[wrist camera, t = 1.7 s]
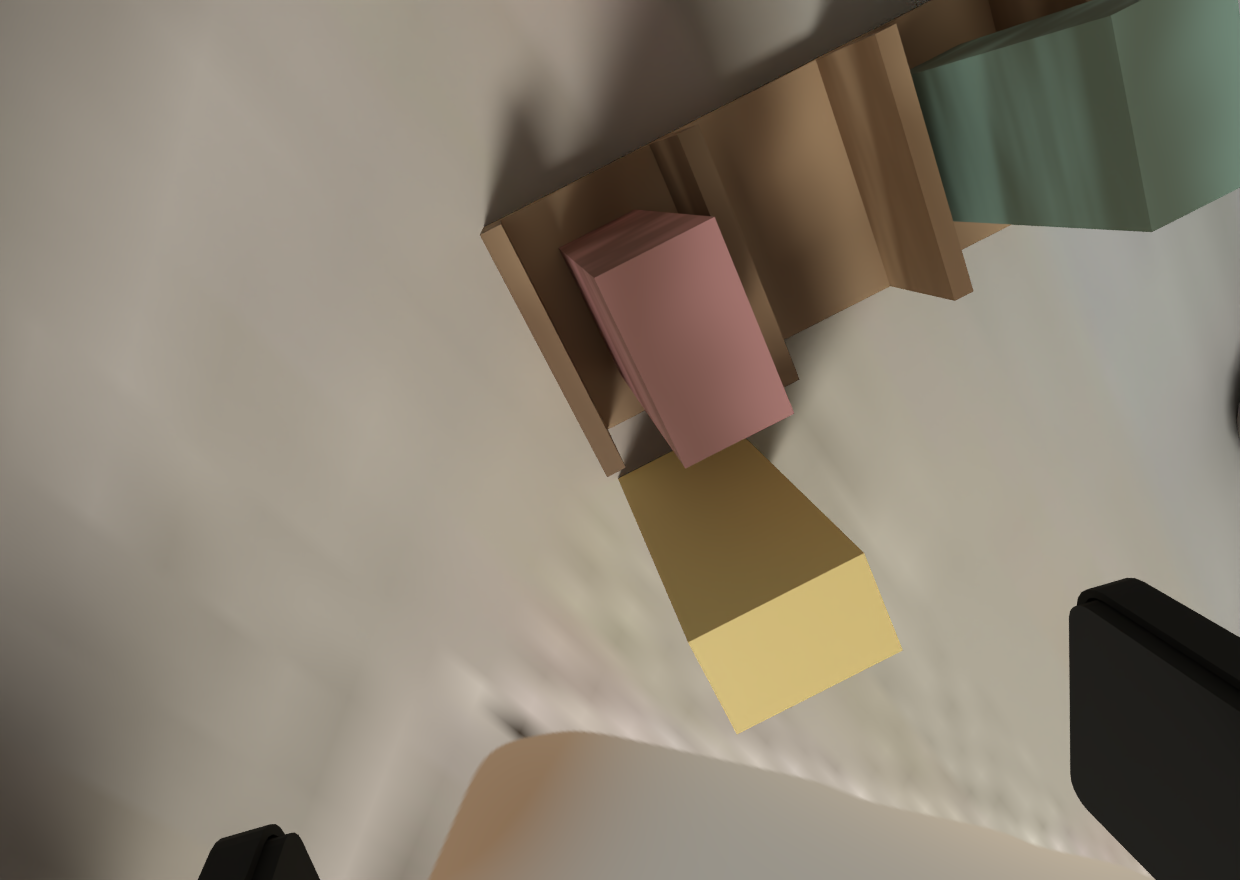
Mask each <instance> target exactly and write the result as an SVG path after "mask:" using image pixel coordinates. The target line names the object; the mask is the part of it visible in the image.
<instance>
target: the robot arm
mask: <svg viewBox="0 0 1240 880" xmlns="http://www.w3.org/2000/svg"><path fill="white" fill-rule="evenodd" d="M1069 667H1070V775H1071V782H1072V785H1073V788H1074V790H1075V792H1076V794H1077V796H1078V798H1079V799H1080V801H1081V802H1082V804H1083V805H1084V806H1085V808H1086V809H1087V810H1088V811H1089V812H1090V813H1091V814H1092V815H1093V816H1094V817H1095V818H1096V819H1097V820H1098V821H1099V822H1100V823H1101V824H1102V825H1103V826H1104V827H1105V828H1106V829H1107V831H1108V832H1109V833H1110V834H1111V835H1112V836H1113V837H1114V838H1115V839H1116V840H1117V841H1118V842H1119V843H1120V844H1121V845H1122V846H1123V847H1124V848H1125V849H1126V850H1127V851H1128V852H1129V853H1130V854H1131V855H1132V856H1133V857H1134V858H1135V859H1136V860H1137V861H1138V862H1139V863H1140V864H1141V865H1142V866H1143V867H1144V868H1145V869H1146V870H1147V871H1148V872H1149V873H1150V874H1151V875H1152V876H1153V877H1154V878H1155V879H1156V880H1240V637H1238V636H1236V635H1235V634H1233V633H1231V632H1229V631H1228V630H1226V629H1224V628H1223V627H1221V626H1219V625H1217V624H1216V623H1214V622H1212V621H1210V620H1209V619H1207V618H1205V617H1204V616H1202V615H1200V614H1198V613H1197V612H1195V611H1193V610H1191V609H1190V608H1188V607H1186V606H1185V605H1183V604H1181V603H1179V602H1178V601H1176V600H1174V599H1172V598H1171V597H1169V596H1167V595H1166V594H1164V593H1162V592H1160V591H1159V590H1157V589H1155V588H1153V587H1152V586H1150V585H1148V584H1147V583H1145V582H1143V581H1140V580H1138V579H1135V578H1125V579H1122V580H1118V581H1115V582H1111V583H1108V584H1104V585H1101V586H1097V587H1094V588H1090V589H1087V590H1085V591H1083V592H1081V594H1080V596H1079V597H1078V601H1077V606H1075V607H1073V608H1072V609H1071V611H1070V615H1069ZM198 880H320V879H319V876H318V874H317V872H316V870H315V868H314V866H313V863H312V861H311V859H310V857H309V855H308V853H307V850H306V848H305V846H304V844H303V842H302V840H301V838H300V837H299V835H297V834H296V833H289V834H286V835H285V834H284V832H283V831H282V829H281V828H280V827H279V826H277V825H276V824H270V825H266V826H263V827H259V828H256V829H252V830H249V831H246V832H242V833H239V834H235V835H232V836H228V837H225V838H221V839H220V840H219V841H217V842H216V843H215V845H214V846H213V848H212V850H211V851H210V853H209V856H208V858H207V860H206V862H205V865H204V867H203V869H202V871H201V874H200V876H199V878H198Z"/></svg>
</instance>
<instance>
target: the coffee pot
mask: <svg viewBox="0 0 1240 880" xmlns="http://www.w3.org/2000/svg"><path fill="white" fill-rule="evenodd" d="M1237 426H1238V433H1239V438H1240V403H1239V408H1238V417H1237Z"/></svg>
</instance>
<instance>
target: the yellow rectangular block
mask: <svg viewBox="0 0 1240 880" xmlns="http://www.w3.org/2000/svg"><path fill="white" fill-rule="evenodd" d="M618 479H619V482H620V484H621V486H622V489H623V491H624V493H625V496H626V498H627V500H628V503H629V505H630V507H631V510H632V512H633V515H634V517H635V519H636V522H637V524H638V526H639V529H640V531H641V533H642V536H643V538H644V540H645V543H646V545H647V547H648V550H649V552H650V554H651V557H652V559H653V561H654V564H655V566H656V568H657V571H658V573H659V575H660V578H661V580H662V582H663V585H664V587H665V589H666V592H667V594H668V596H669V599H670V601H671V603H672V606H673V608H674V610H675V613H676V615H677V617H678V620H679V622H680V624H681V627H682V629H683V631H684V634H685V636H686V638H687V641H688V643H689V645H690V647H691V649H692V650H693V652H694V654H695V656H696V658H697V660H698V662H699V664H700V666H701V667H702V669H703V671H704V673H705V675H706V677H707V679H708V681H709V683H710V684H711V686H712V688H713V690H714V692H715V694H716V696H717V698H718V700H719V701H720V703H721V705H722V707H723V709H724V711H725V713H726V715H727V717H728V718H729V720H730V722H731V724H732V726H733V728H734V730H735V732H736V734H739V733H741V732H743V731H745V730H747V729H748V728H750V727H752V726H754V725H756V724H758V723H760V722H762V721H764V720H766V719H768V718H770V717H772V716H774V715H776V714H778V713H780V712H782V711H784V710H786V709H788V708H790V707H792V706H794V705H796V704H798V703H800V702H802V701H804V700H806V699H808V698H810V697H812V696H814V695H816V694H818V693H819V692H821V691H823V690H825V689H827V688H829V687H831V686H833V685H835V684H837V683H839V682H841V681H843V680H845V679H847V678H849V677H851V676H853V675H855V674H857V673H859V672H861V671H863V670H865V669H867V668H869V667H871V666H873V665H875V664H877V663H879V662H881V661H883V660H885V659H887V658H889V657H891V656H892V655H894V654H896V653H898V652H900V651H902V647H901V645H900V642H899V640H898V637H897V635H896V632H895V630H894V627H893V625H892V622H891V620H890V617H889V615H888V612H887V610H886V607H885V605H884V602H883V600H882V597H881V595H880V592H879V590H878V587H877V585H876V582H875V579H874V577H873V574H872V572H871V569H870V567H869V564H868V562H867V559H866V557H865V554H864V553H863V552H862V551H861V550H860V549H859V548H858V547H857V546H856V545H855V544H854V543H853V542H852V541H851V540H850V539H849V538H848V537H847V536H846V535H845V534H844V533H843V532H842V531H841V530H840V529H839V528H838V527H837V526H836V525H835V524H834V523H832V522H831V521H830V520H829V519H828V518H827V517H826V516H825V515H824V514H823V513H822V512H821V511H820V510H819V509H818V508H817V507H816V506H815V505H814V504H813V503H812V502H811V501H810V500H809V499H808V498H807V497H806V496H805V495H804V494H803V493H802V492H801V491H800V490H798V489H797V488H796V487H795V486H794V485H793V484H792V483H791V482H790V481H789V480H788V479H787V478H786V477H785V476H784V475H783V474H782V473H781V472H780V471H779V470H778V469H777V468H776V467H775V466H774V465H773V464H772V463H771V462H770V461H769V460H768V459H767V458H766V457H765V456H763V455H762V454H761V453H760V452H759V451H758V450H757V449H756V448H755V447H754V446H753V445H752V444H751V443H750V442H749V441H748V440H747V439H746V438H745V439H743V440H741V441H739V442H737V443H735V444H733V445H731V446H729V447H727V448H725V449H723V450H721V451H719V452H717V453H715V454H713V455H711V456H709V457H707V458H706V459H704V460H702V461H700V462H698V463H696V464H694V465H692V466H690V467H688V468H686V469H685V467H684V466H683V464H682V463H681V461H680V460H679V459H678V457H677V456H676V454H675V453H674V451H671V452H669V453H667V454H665V455H663V456H662V457H660V458H658V459H656V460H654V461H652V462H650V463H648V464H646V465H644V466H642V467H640V468H638V469H636V470H634V471H632V472H630V473H628V474H626V475H624V476H622V477H620V478H618Z"/></svg>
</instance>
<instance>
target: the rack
mask: <svg viewBox="0 0 1240 880" xmlns="http://www.w3.org/2000/svg"><path fill="white" fill-rule="evenodd" d="M1238 188H1240V13H1239V6H1238V0H930V1H928V2H926V3H924V4H922V5H920V6H919V7H917V8H915V9H913V10H911V11H909V12H907V13H905V14H903V15H901V16H899V17H897V18H895V19H893V20H891V21H889V22H887V23H885V24H883V25H881V26H879V27H877V28H875V29H873V30H871V31H869V32H867V33H865V34H863V35H861V36H859V37H857V38H856V39H854V40H852V41H850V42H848V43H846V44H844V45H842V46H840V47H838V48H836V49H834V50H832V51H830V52H828V53H826V54H824V55H822V56H820V57H818V58H816V59H814V60H812V61H810V62H808V63H806V64H804V65H802V66H800V67H798V68H796V69H795V70H793V71H791V72H789V73H787V74H785V75H783V76H781V77H779V78H777V79H775V80H773V81H771V82H769V83H767V84H765V85H763V86H761V87H759V88H757V89H755V90H753V91H751V92H749V93H747V94H745V95H743V96H741V97H739V98H737V99H735V100H733V101H732V102H730V103H728V104H726V105H724V106H722V107H720V108H718V109H716V110H714V111H712V112H710V113H708V114H706V115H704V116H702V117H700V118H698V119H696V120H694V121H692V122H690V123H688V124H686V125H684V126H682V127H680V128H678V129H676V130H674V131H672V132H671V133H669V134H667V135H665V136H663V137H661V138H659V139H657V140H655V141H653V142H651V143H649V144H647V145H645V146H643V147H641V148H639V149H637V150H635V151H633V152H631V153H629V154H627V155H625V156H623V157H621V158H619V159H617V160H615V161H613V162H611V163H609V164H608V165H606V166H604V167H602V168H600V169H598V170H596V171H594V172H592V173H590V174H588V175H586V176H584V177H582V178H580V179H578V180H576V181H574V182H572V183H570V184H568V185H566V186H564V187H562V188H560V189H558V190H556V191H554V192H552V193H550V194H548V195H546V196H545V197H543V198H541V199H539V200H537V201H535V202H533V203H531V204H529V205H527V206H525V207H523V208H521V209H519V210H517V211H515V212H513V213H511V214H509V215H507V216H505V217H503V218H501V219H499V220H497V221H495V222H493V223H491V224H489V225H487V226H485V227H484V228H483V230H482V232H481V234H480V236H481V238H482V240H483V242H484V244H485V246H486V247H487V249H488V251H489V253H490V255H491V257H492V259H493V261H494V263H495V265H496V266H497V268H498V270H499V272H500V274H501V276H502V278H503V280H504V282H505V284H506V286H507V287H508V289H509V291H510V293H511V295H512V297H513V299H514V301H515V303H516V305H517V306H518V308H519V310H520V312H521V314H522V316H523V318H524V320H525V322H526V324H527V325H528V327H529V329H530V331H531V333H532V335H533V337H534V339H535V341H536V343H537V344H538V346H539V348H540V350H541V352H542V354H543V356H544V358H545V360H546V362H547V363H548V365H549V367H550V369H551V371H552V373H553V375H554V377H555V379H556V381H557V382H558V384H559V386H560V388H561V390H562V392H563V394H564V396H565V398H566V400H567V401H568V403H569V405H570V407H571V409H572V411H573V413H574V415H575V417H576V419H577V420H578V422H579V424H580V426H581V428H582V430H583V432H584V434H585V436H586V438H587V439H588V441H589V443H590V445H591V447H592V449H593V451H594V453H595V455H596V457H597V458H598V460H599V462H600V464H601V466H602V468H603V470H604V472H605V474H606V476H607V477H608V476H610V475H612V474H614V473H616V472H618V471H620V470H622V469H624V468H626V467H625V465H624V463H623V461H622V459H621V456H620V454H619V452H618V450H617V448H616V446H615V444H614V442H613V440H612V437H611V435H610V433H609V431H608V429H609V428H611V427H613V426H615V425H617V424H619V423H621V422H623V421H625V420H627V419H629V418H631V417H633V416H635V415H637V414H639V413H641V412H643V411H646V412H647V414H648V415H649V416H650V418H651V419H652V421H653V422H654V424H655V425H656V427H657V428H658V430H659V431H660V432H661V434H662V435H663V437H664V438H665V440H666V441H667V443H668V444H669V445H670V447H671V448H672V450H673V451H674V453H675V454H676V456H677V457H678V459H679V460H680V461H681V463H682V464H683V466H684V467H685V469H686V468H688V467H690V466H692V465H694V464H696V463H698V462H700V461H702V460H704V459H706V458H707V457H709V456H711V455H713V454H715V453H717V452H719V451H721V450H723V449H725V448H727V447H729V446H731V445H733V444H735V443H737V442H739V441H741V440H743V439H745V438H747V437H749V436H751V435H753V434H755V433H757V432H759V431H761V430H763V429H765V428H767V427H769V426H771V425H773V424H775V423H776V422H778V421H780V420H782V419H784V418H786V417H788V416H790V415H792V414H794V412H793V409H792V407H791V404H790V402H789V399H788V397H787V394H786V392H785V389H784V387H786V386H788V385H790V384H792V383H794V382H796V381H797V380H799V377H798V374H797V372H796V369H795V367H794V364H793V362H792V359H791V357H790V354H789V352H788V349H787V347H786V344H785V342H784V340H785V339H787V338H789V337H791V336H793V335H795V334H797V333H799V332H801V331H803V330H805V329H807V328H808V327H810V326H812V325H814V324H816V323H818V322H820V321H822V320H824V319H826V318H828V317H830V316H832V315H834V314H836V313H838V312H840V311H842V310H844V309H846V308H848V307H850V306H852V305H854V304H856V303H858V302H860V301H862V300H864V299H866V298H868V297H870V296H872V295H874V294H875V293H877V292H879V291H881V290H883V289H885V288H887V287H889V286H892V287H897V288H901V289H906V290H910V291H914V292H919V293H923V294H928V295H932V296H936V297H941V298H945V299H950V300H954V301H955V300H957V299H959V298H961V297H963V296H965V295H967V294H969V293H971V292H973V288H972V285H971V281H970V278H969V274H968V271H967V267H966V264H965V260H964V257H963V254H962V249H964V248H966V247H968V246H970V245H972V244H974V243H976V242H978V241H980V240H982V239H984V238H986V237H988V236H990V235H992V234H994V233H996V232H998V231H1000V230H1002V229H1004V228H1006V227H1008V226H1010V225H1011V224H1012V225H1031V226H1049V227H1068V228H1086V229H1105V230H1124V231H1142V232H1153V231H1155V230H1157V229H1159V228H1161V227H1163V226H1165V225H1167V224H1169V223H1171V222H1173V221H1175V220H1177V219H1179V218H1181V217H1183V216H1185V215H1187V214H1189V213H1191V212H1193V211H1195V210H1196V209H1198V208H1200V207H1202V206H1204V205H1206V204H1208V203H1210V202H1212V201H1214V200H1216V199H1218V198H1220V197H1222V196H1224V195H1226V194H1228V193H1230V192H1232V191H1234V190H1236V189H1238Z"/></svg>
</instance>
